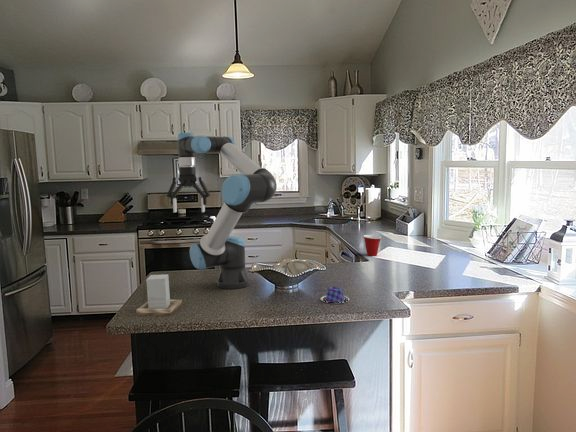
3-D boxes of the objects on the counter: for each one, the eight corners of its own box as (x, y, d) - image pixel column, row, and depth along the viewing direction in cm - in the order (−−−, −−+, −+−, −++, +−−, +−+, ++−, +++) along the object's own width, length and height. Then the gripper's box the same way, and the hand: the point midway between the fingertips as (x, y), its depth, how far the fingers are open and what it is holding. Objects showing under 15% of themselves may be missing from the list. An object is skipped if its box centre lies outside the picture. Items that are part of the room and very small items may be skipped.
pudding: (355, 301, 194) (355, 289, 193) (332, 306, 187) (332, 294, 187) (337, 294, 204) (337, 283, 203) (314, 299, 197) (314, 287, 197)
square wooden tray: (182, 304, 193) (182, 299, 193) (170, 315, 180) (170, 310, 179) (150, 303, 195) (150, 299, 195) (135, 314, 181) (135, 309, 181)
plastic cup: (381, 257, 277) (381, 237, 276) (363, 257, 279) (363, 237, 278) (381, 253, 288) (381, 234, 286) (363, 253, 290) (363, 234, 289)
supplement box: (170, 304, 191) (169, 273, 189) (166, 310, 184) (165, 278, 182) (152, 304, 191) (150, 274, 189) (147, 310, 183) (145, 279, 182)
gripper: (215, 166, 220) (217, 211, 223) (164, 166, 223) (166, 211, 226) (211, 166, 213) (212, 212, 215) (158, 167, 216) (160, 213, 218)
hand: (189, 212), depth 221 cm, fingers open, 13 cm apart
